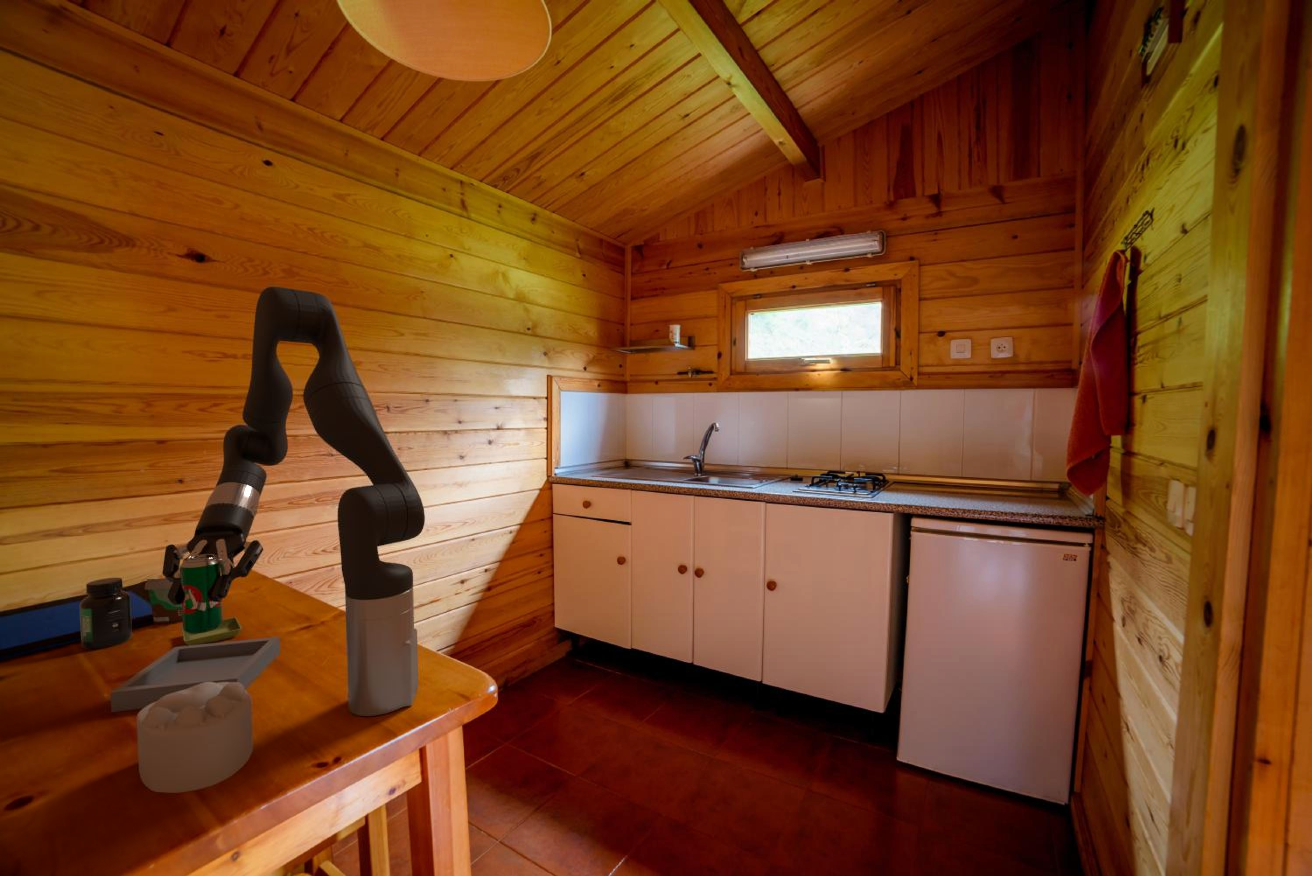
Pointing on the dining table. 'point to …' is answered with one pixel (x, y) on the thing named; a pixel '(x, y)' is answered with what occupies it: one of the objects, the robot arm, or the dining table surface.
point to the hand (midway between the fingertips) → (195, 600)
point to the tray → (196, 670)
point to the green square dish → (214, 633)
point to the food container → (162, 602)
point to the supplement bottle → (105, 614)
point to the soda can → (200, 593)
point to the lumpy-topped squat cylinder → (194, 737)
